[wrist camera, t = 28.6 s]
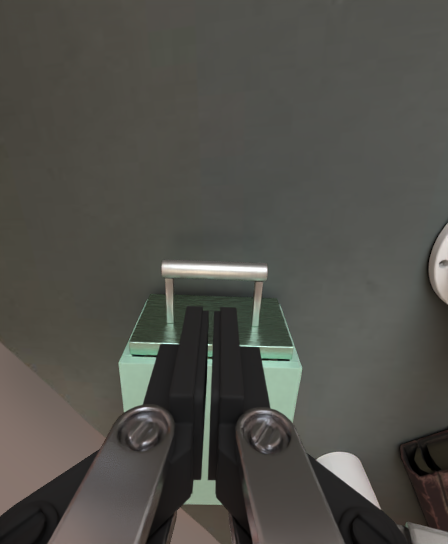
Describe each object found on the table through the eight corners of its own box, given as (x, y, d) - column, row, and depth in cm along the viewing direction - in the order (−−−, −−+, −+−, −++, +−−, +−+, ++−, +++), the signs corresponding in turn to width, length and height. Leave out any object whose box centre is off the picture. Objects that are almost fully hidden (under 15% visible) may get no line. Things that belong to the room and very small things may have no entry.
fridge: (146, 299, 32) (118, 362, 23) (280, 304, 32) (302, 368, 23) (154, 419, 38) (134, 503, 29) (264, 421, 39) (277, 506, 30)
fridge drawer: (147, 239, 28) (122, 274, 21) (283, 244, 28) (304, 281, 21) (156, 411, 37) (141, 478, 29) (262, 413, 37) (272, 480, 30)
